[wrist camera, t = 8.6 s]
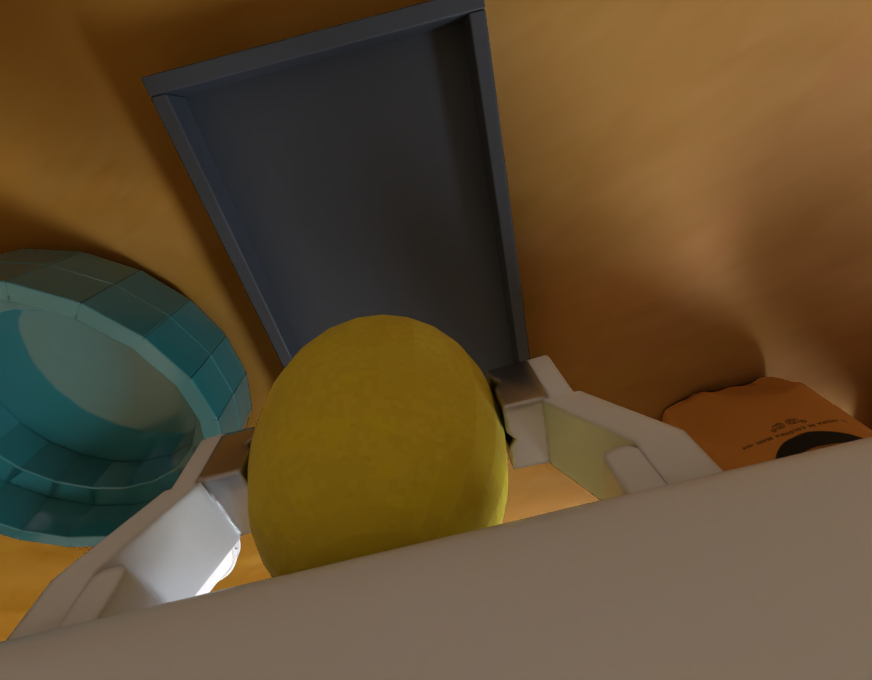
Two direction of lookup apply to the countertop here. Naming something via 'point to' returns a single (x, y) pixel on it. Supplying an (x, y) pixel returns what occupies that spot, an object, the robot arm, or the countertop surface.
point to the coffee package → (762, 422)
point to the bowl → (101, 393)
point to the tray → (359, 176)
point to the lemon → (374, 446)
